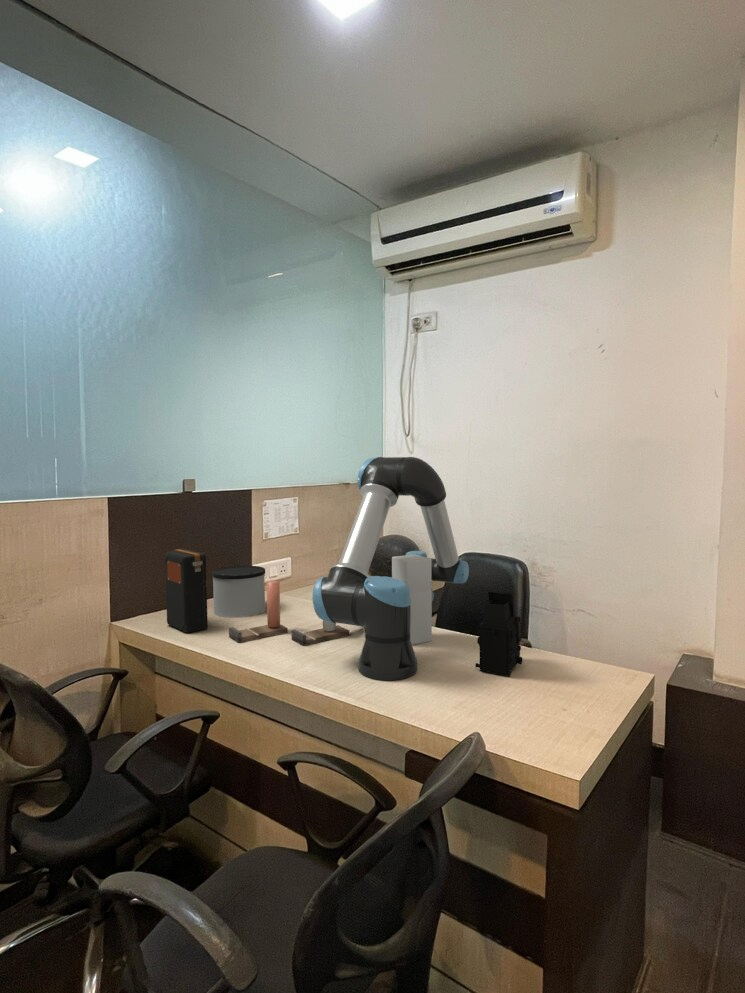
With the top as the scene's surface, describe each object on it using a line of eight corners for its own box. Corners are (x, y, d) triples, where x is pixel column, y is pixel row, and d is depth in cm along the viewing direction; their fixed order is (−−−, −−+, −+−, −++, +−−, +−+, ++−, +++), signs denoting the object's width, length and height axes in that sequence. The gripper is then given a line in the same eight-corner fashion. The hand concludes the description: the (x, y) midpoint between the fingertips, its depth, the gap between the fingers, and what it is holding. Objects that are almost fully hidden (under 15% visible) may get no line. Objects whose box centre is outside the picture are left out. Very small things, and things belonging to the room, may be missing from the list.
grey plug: (331, 626, 173) (330, 582, 172) (338, 629, 170) (337, 584, 169) (320, 628, 171) (319, 584, 170) (327, 632, 168) (326, 586, 167)
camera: (527, 662, 147) (528, 587, 146) (512, 679, 135) (513, 598, 134) (491, 655, 152) (491, 583, 151) (473, 671, 140) (474, 593, 139)
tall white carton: (391, 637, 168) (391, 556, 167) (416, 633, 172) (416, 554, 171) (406, 646, 160) (406, 561, 159) (432, 641, 164) (431, 558, 163)
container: (231, 621, 188) (230, 577, 187) (202, 611, 201) (201, 570, 200) (276, 610, 201) (275, 569, 200) (247, 601, 214) (246, 563, 213)
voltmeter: (211, 629, 178) (209, 552, 177) (186, 635, 172) (183, 556, 171) (188, 619, 189) (186, 547, 188) (163, 625, 183) (161, 550, 182)
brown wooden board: (335, 629, 177) (335, 619, 177) (351, 636, 170) (351, 626, 170) (290, 639, 168) (289, 629, 167) (304, 646, 160) (304, 636, 160)
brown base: (276, 626, 180) (276, 617, 180) (289, 633, 173) (288, 624, 173) (227, 636, 171) (227, 626, 171) (239, 643, 164) (239, 633, 163)
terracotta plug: (276, 622, 178) (276, 580, 177) (282, 625, 175) (281, 582, 174) (265, 625, 175) (264, 581, 175) (270, 628, 172) (270, 583, 171)
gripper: (406, 616, 181) (345, 629, 167) (382, 607, 191) (323, 619, 178) (406, 593, 180) (345, 604, 166) (382, 586, 191) (323, 596, 177)
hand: (334, 612), depth 172 cm, fingers closed
